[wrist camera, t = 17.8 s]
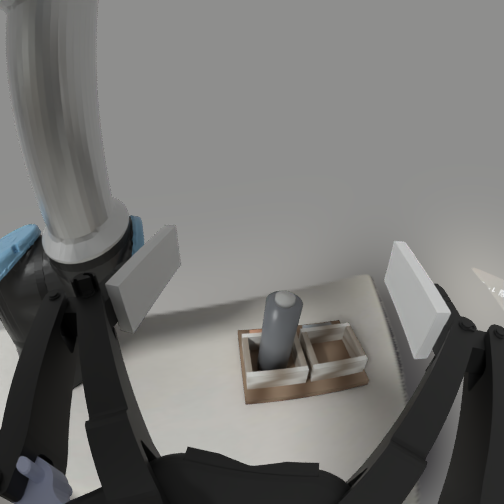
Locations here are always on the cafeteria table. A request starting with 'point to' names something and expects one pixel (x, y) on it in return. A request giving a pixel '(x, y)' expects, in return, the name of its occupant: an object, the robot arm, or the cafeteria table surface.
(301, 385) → the socket board
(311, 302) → the cafeteria table surface
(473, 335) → the robot arm
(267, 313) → the plug
